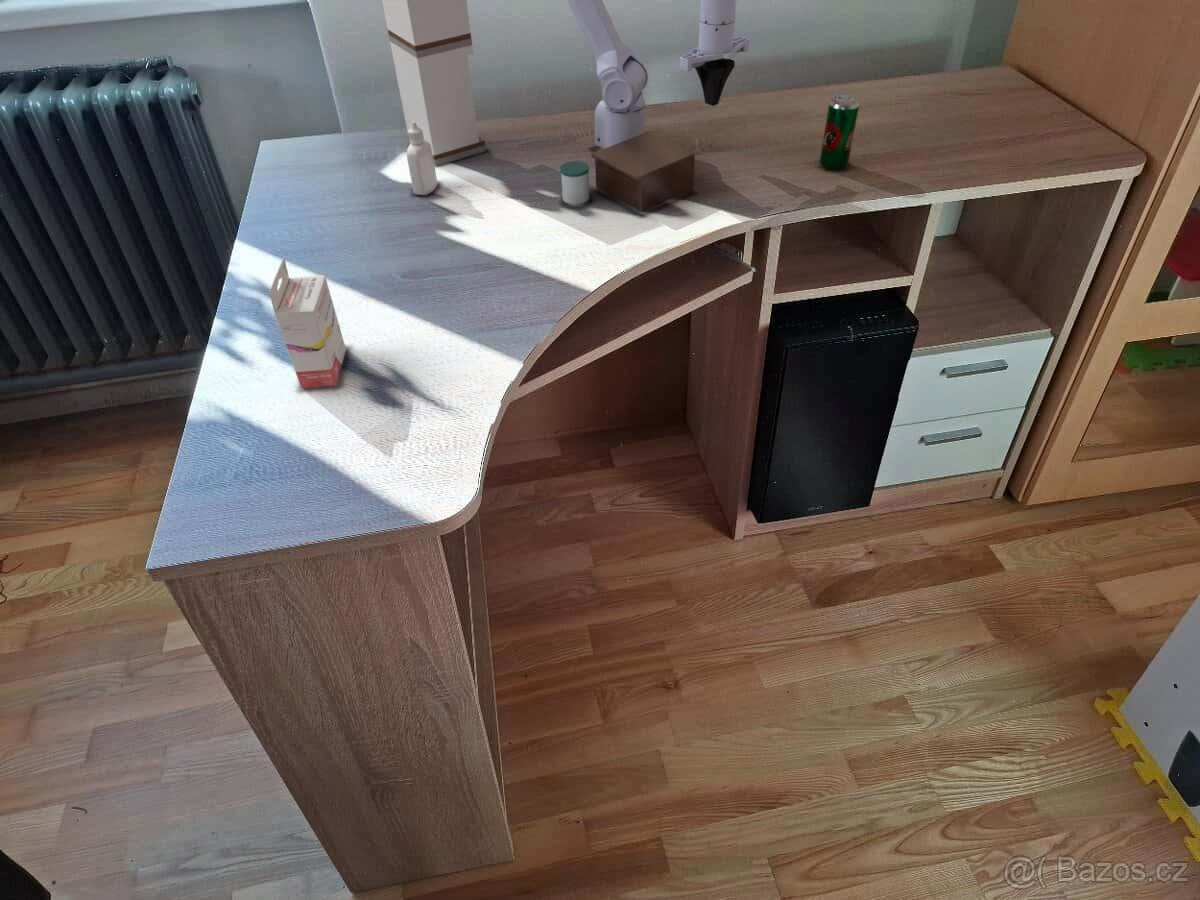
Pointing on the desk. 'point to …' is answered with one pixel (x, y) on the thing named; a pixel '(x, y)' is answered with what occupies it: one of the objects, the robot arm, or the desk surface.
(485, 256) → the desk surface
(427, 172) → the eye dropper bottle
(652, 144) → the box lid
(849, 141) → the soda can
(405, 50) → the brown banded pillar
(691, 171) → the box
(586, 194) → the container
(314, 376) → the ink cartridge box
